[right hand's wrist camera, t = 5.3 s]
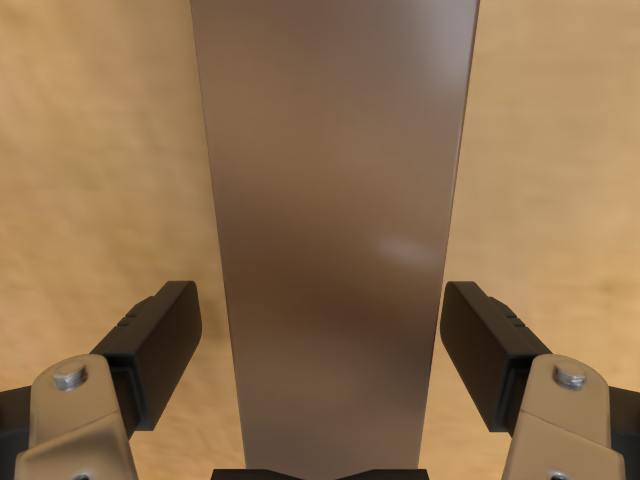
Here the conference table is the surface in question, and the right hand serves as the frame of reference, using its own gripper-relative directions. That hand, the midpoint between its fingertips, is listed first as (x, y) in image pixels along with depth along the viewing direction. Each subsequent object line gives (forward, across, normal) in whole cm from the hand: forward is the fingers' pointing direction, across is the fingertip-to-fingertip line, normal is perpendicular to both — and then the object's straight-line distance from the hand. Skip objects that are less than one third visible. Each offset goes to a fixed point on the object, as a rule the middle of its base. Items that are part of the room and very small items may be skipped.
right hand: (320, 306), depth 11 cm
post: (+3, 0, -37) cm, 37 cm away
